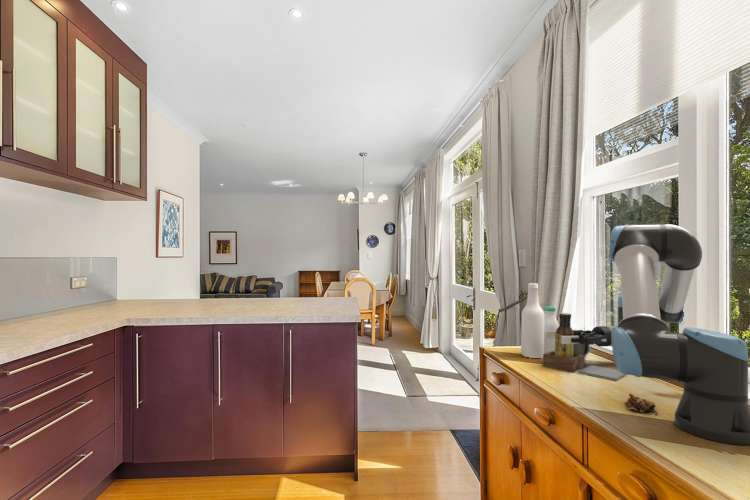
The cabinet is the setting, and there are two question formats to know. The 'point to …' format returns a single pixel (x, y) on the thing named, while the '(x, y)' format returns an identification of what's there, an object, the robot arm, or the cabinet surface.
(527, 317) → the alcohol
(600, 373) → the slate tile
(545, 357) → the walnut collar
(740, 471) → the cabinet surface
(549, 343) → the milk bottle
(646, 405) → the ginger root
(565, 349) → the sauce bottle
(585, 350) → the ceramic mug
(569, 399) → the cabinet surface
